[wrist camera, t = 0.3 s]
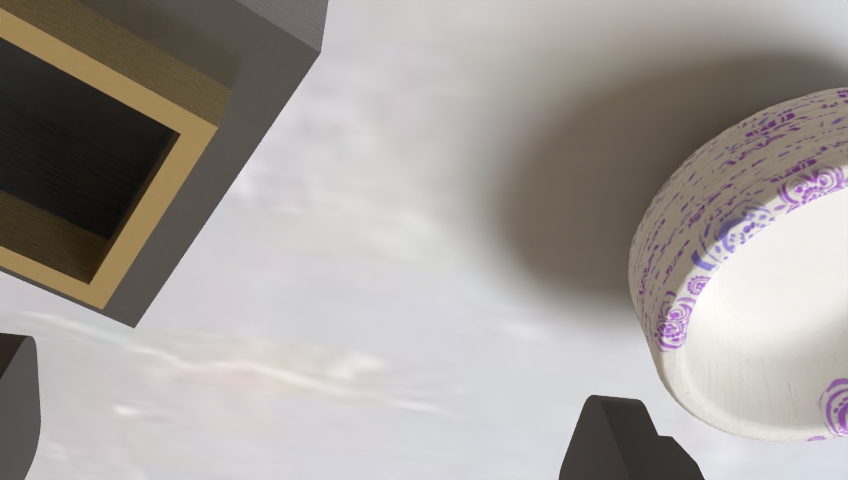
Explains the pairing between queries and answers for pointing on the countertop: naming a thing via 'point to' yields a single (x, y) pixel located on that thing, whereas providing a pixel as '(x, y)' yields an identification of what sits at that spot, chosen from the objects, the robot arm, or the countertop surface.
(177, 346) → the countertop surface
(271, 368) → the countertop surface
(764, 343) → the paper bowls
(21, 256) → the grey drawer box
